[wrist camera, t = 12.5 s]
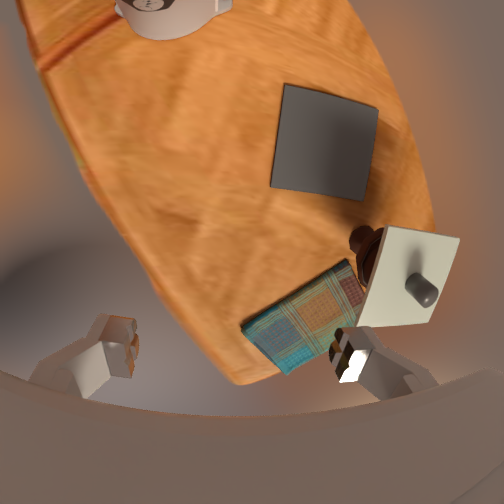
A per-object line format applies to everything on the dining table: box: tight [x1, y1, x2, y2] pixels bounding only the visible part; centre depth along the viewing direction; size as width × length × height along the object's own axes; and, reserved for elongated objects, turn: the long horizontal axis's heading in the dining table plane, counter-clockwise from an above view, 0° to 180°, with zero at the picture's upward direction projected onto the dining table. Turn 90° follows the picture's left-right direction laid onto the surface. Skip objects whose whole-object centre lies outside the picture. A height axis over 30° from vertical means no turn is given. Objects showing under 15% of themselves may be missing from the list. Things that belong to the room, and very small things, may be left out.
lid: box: [354, 224, 460, 327], centre depth 31 cm, size 14×14×5 cm
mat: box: [270, 85, 379, 201], centre depth 39 cm, size 16×16×1 cm
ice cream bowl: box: [349, 226, 384, 289], centre depth 40 cm, size 11×11×15 cm
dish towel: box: [241, 260, 365, 375], centre depth 52 cm, size 17×23×2 cm
